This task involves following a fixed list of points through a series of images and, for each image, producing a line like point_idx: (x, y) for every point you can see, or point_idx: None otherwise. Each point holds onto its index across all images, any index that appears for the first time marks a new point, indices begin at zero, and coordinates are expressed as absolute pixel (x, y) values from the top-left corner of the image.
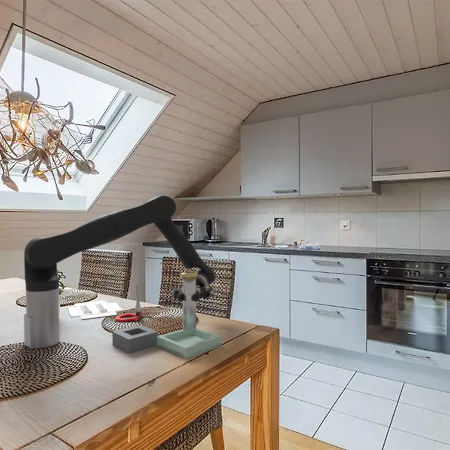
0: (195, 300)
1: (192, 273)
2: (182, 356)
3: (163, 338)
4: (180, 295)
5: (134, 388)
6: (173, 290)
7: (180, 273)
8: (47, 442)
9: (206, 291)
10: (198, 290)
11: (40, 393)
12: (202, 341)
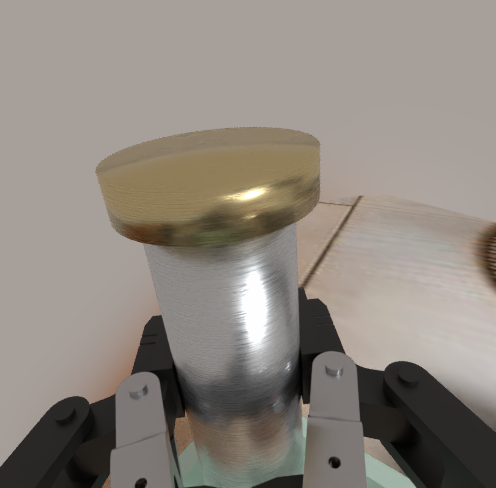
0: None
1: (164, 145)
2: None
3: (397, 476)
4: None
5: (315, 272)
6: (476, 423)
7: (306, 135)
8: (342, 200)
9: (51, 413)
10: (140, 420)
11: (468, 239)
12: (183, 467)
